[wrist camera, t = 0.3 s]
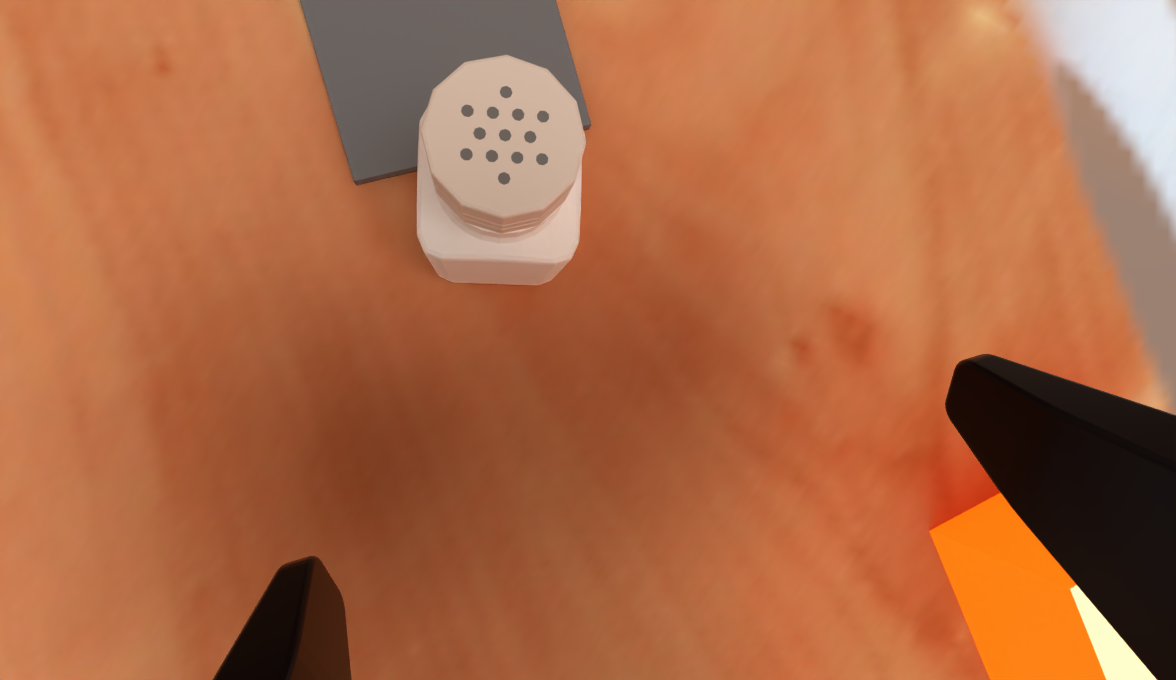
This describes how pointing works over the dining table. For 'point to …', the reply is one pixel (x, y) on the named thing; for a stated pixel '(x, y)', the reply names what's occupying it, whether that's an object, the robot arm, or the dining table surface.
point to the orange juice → (1026, 603)
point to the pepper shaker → (499, 174)
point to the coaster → (420, 64)
